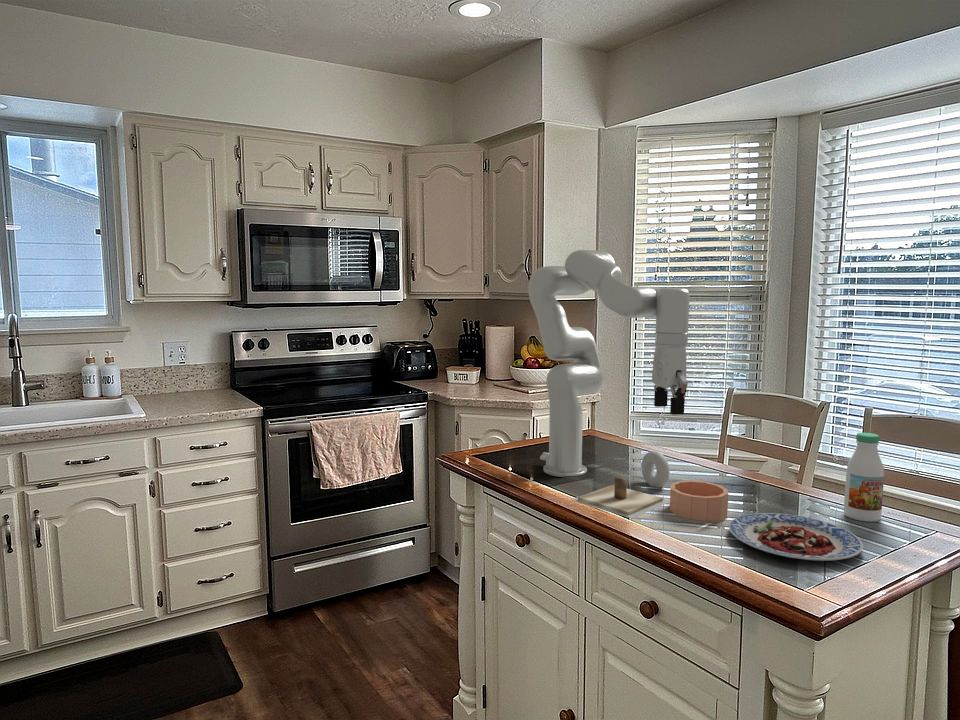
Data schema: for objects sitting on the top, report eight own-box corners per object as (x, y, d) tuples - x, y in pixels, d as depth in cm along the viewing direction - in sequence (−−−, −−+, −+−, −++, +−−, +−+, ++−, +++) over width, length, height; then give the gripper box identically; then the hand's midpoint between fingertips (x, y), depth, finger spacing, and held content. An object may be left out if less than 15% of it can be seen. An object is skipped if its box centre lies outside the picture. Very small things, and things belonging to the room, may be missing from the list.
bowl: (659, 512, 160) (660, 488, 159) (686, 500, 169) (687, 477, 168) (710, 527, 150) (711, 501, 150) (736, 513, 159) (737, 489, 159)
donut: (671, 492, 175) (673, 455, 174) (661, 493, 174) (662, 456, 173) (648, 481, 185) (649, 446, 183) (637, 483, 183) (639, 447, 182)
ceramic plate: (893, 561, 133) (894, 546, 133) (786, 576, 126) (787, 561, 125) (797, 517, 158) (798, 505, 157) (704, 528, 150) (704, 515, 150)
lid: (577, 500, 167) (578, 477, 166) (612, 487, 177) (613, 466, 176) (628, 515, 156) (629, 491, 155) (662, 501, 166) (663, 478, 166)
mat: (570, 502, 167) (570, 499, 167) (610, 487, 179) (610, 485, 179) (631, 520, 154) (631, 518, 154) (670, 503, 166) (670, 501, 166)
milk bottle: (835, 513, 159) (841, 432, 157) (858, 509, 162) (864, 429, 160) (865, 524, 152) (872, 439, 150) (888, 520, 155) (895, 436, 153)
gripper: (642, 337, 167) (640, 404, 169) (671, 343, 150) (668, 418, 152) (671, 336, 168) (668, 403, 170) (702, 343, 151) (699, 417, 153)
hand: (668, 410), depth 161 cm, fingers open, 9 cm apart
